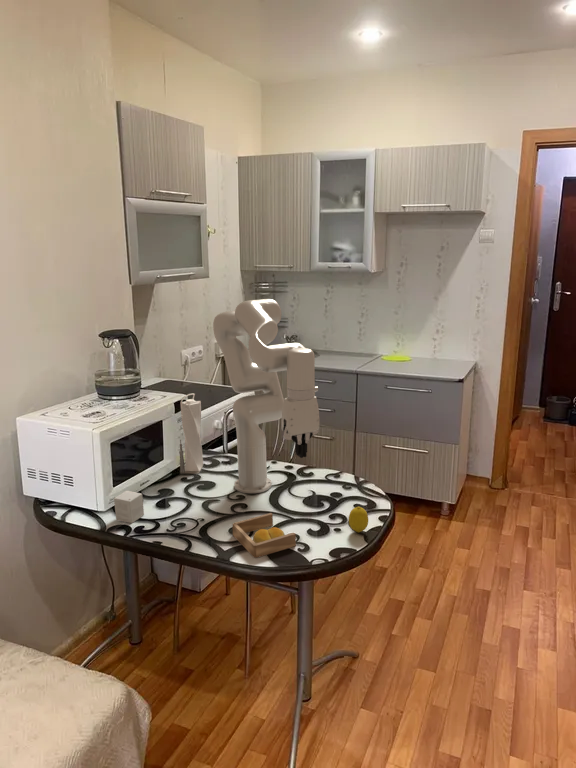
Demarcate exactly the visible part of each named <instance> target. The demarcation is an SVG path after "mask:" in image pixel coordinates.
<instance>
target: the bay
mask: <svg viewBox="0 0 576 768" xmlns="http://www.w3.org/2000/svg"><path fill="white" fill-rule="evenodd" d="M273 518H274V516H273V513H272V512H269V513H266V514H265V513H264V514H261V515H258V516H255V517H249V518H247V519H243V520H239V521H236V522H233V523H232V524H231V525H232V526H231V528H232V536H233V537H234V538H235V539H236V540H237V541H238V542H239V544H240V545H241V546H242V547H244V549H245V550H246V551H247V552H248V553H249V554H250V555H251V556H252V557H253V559H255V558H260V557H264V556H266V555H270V554H274V553H277V552H280V551H284V550H287V549H290V548H294V547H296V545H297V542H296V541H297V540H296V539H297V538H296V537H297V534H296V532H291V533H287V534H284V535H283V536H280V537H277V538H273V539H270V540H266V541H263V542H260V543H255V542H254V541H253V538H251V537H250V536H249V535H248V534H247V533H251V532H254V531H255V532H256V531H258V530H260V529H265V528H269V527H272V526H273V525H274V524H273V523H274V520H273Z"/></svg>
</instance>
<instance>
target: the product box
mask: <svg viewBox="0 0 576 768" xmlns="http://www.w3.org/2000/svg"><path fill="white" fill-rule="evenodd" d="M143 500H144V499H143V493H140V492H136V491H135V492H134V491H131V490H124V491H123V492H122V493H120V494H119V495H117V496H116V497H114V498H113V502H114V511H115V520H116V521H120V522H124V523H128V524H134V523H135V522H136V521H138V520H139V519H140V518H142V517H143V516H144V515H145V512H144V510H145V509H144V501H143Z"/></svg>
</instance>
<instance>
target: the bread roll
mask: <svg viewBox="0 0 576 768" xmlns="http://www.w3.org/2000/svg"><path fill="white" fill-rule="evenodd" d="M283 535H285V531H284V530H283V529H281V528H279V527H275V526H274V527H272V526H271V527H270V528H269V529H265V528H262V529H258V530H256V531H255V533H254V535H253V536H252V537H253V538H252V540H253V541H254V542H255V543H260V542H263V541H266V540H270V539H273V538H277V537H280V536H283Z"/></svg>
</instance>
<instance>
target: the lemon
mask: <svg viewBox="0 0 576 768" xmlns="http://www.w3.org/2000/svg"><path fill="white" fill-rule="evenodd" d="M348 524H349V527H350V528H351V529H352V530H353V531H355V532H356V533H358V534H359V533H360V532H363V531H365V530H366V529H367V528H368V524H369V515H368V513H367V510H366V509H364V508H363V507H361V506H355V507H353V509H351V510H350V513H349V516H348Z"/></svg>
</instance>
